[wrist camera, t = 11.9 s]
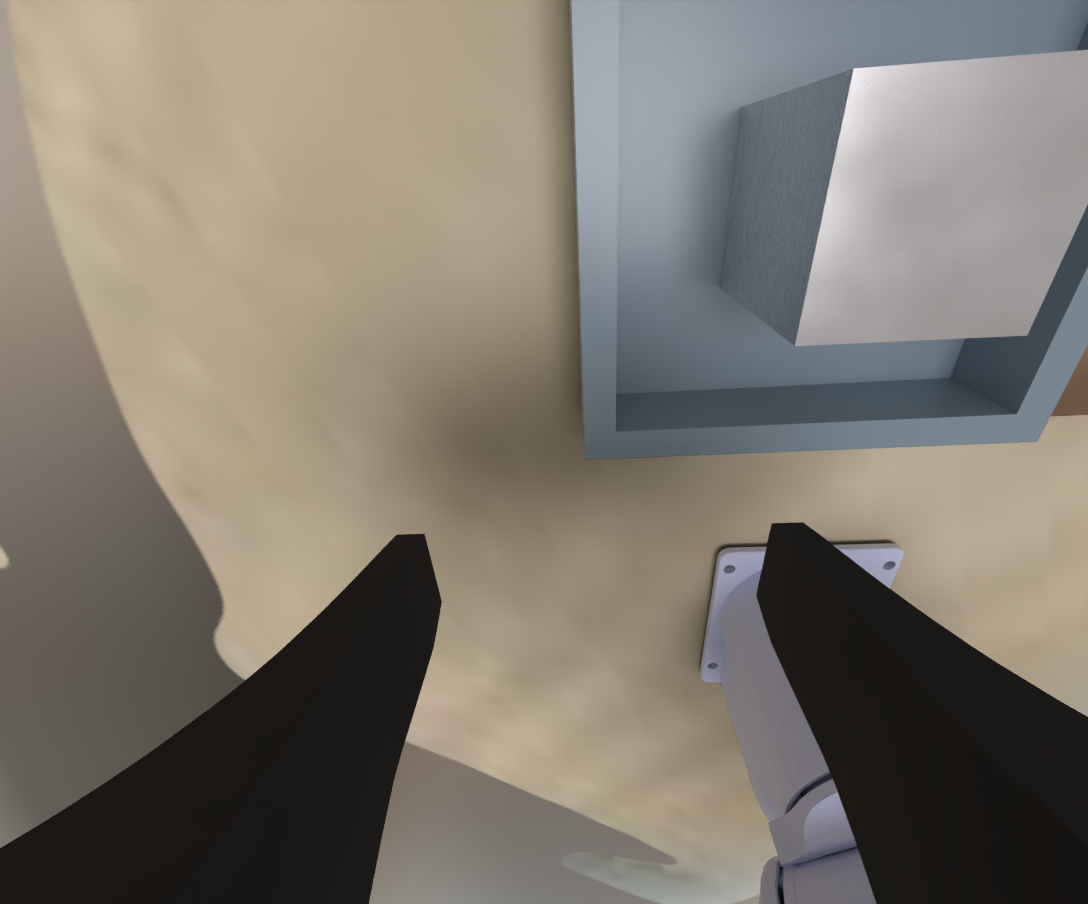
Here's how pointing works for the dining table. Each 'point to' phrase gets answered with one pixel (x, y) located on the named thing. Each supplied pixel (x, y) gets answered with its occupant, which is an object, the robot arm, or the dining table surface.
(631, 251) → the bin
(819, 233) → the metal block
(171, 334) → the dining table surface
